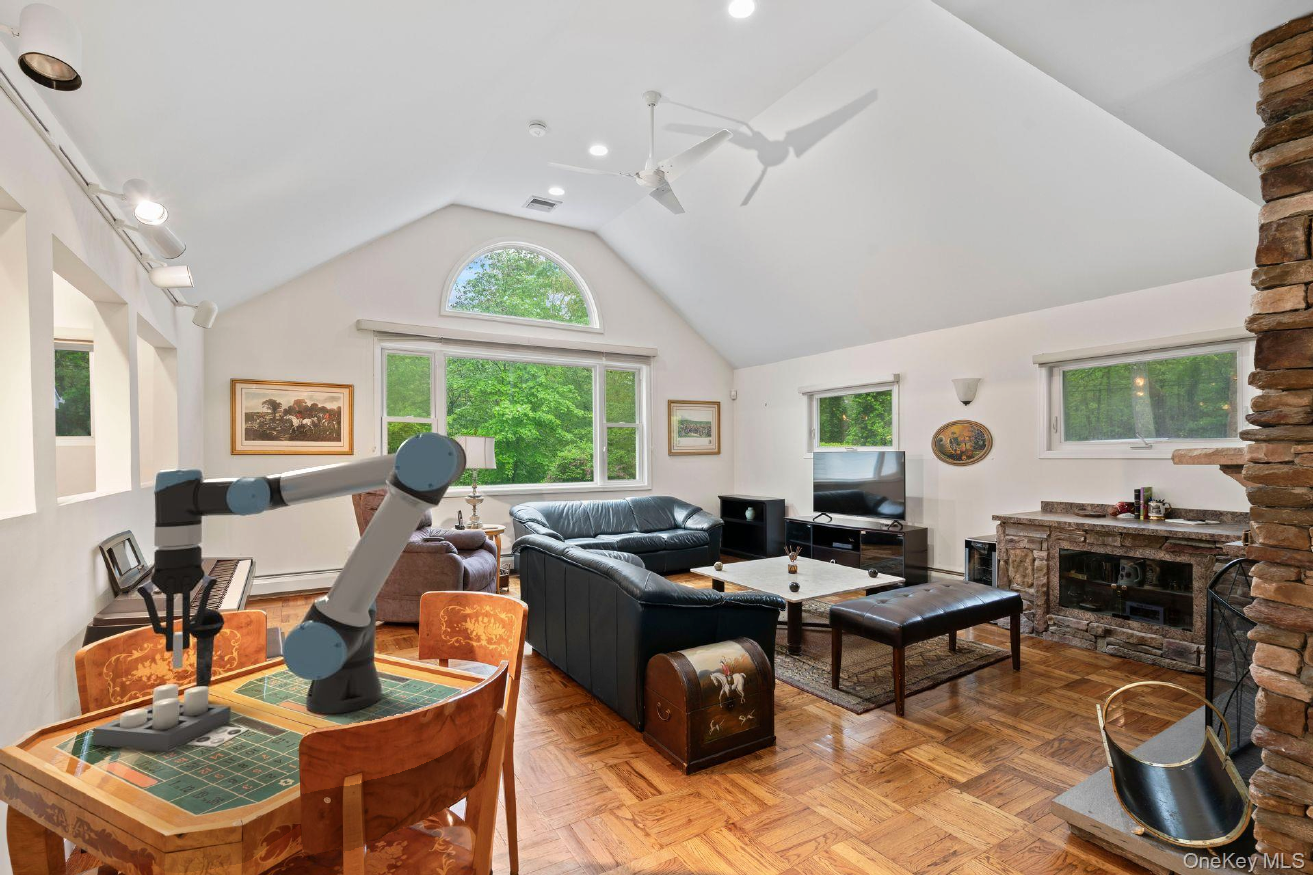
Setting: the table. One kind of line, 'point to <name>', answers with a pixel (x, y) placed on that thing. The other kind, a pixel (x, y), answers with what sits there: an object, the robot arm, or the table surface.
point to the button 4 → (195, 701)
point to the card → (218, 736)
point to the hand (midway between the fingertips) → (177, 666)
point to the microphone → (206, 644)
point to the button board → (161, 739)
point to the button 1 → (133, 718)
